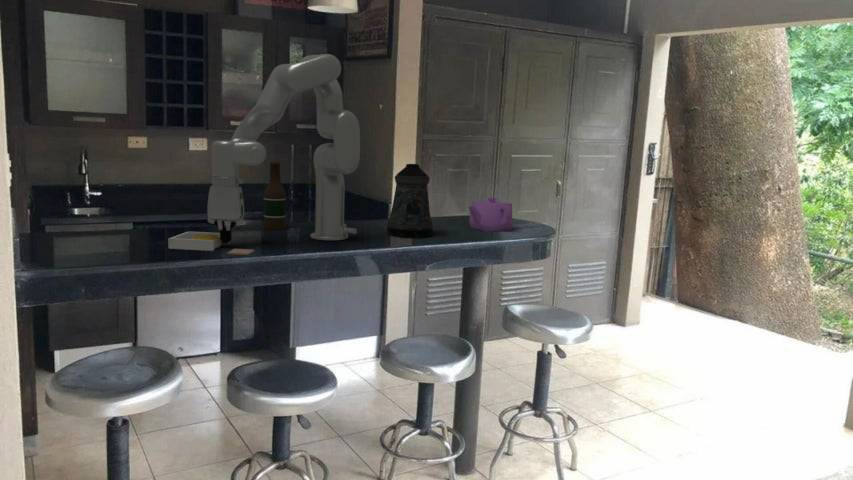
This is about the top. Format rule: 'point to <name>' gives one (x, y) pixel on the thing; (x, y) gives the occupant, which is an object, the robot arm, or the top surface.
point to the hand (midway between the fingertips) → (225, 242)
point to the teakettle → (491, 215)
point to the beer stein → (410, 205)
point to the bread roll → (209, 237)
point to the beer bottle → (274, 200)
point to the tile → (240, 251)
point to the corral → (192, 241)
